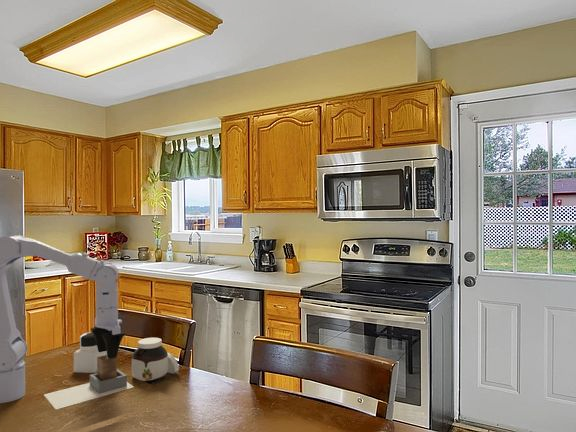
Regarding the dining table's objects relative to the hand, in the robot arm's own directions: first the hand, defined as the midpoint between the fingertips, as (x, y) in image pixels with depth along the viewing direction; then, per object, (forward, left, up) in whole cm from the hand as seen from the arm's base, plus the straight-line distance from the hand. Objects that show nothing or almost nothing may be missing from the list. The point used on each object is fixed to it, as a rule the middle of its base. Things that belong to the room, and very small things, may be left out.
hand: (107, 354), depth 121 cm
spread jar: (+14, -1, -10) cm, 17 cm away
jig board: (-5, 0, -10) cm, 11 cm away
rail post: (0, 0, -9) cm, 9 cm away
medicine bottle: (+1, +18, -10) cm, 21 cm away
